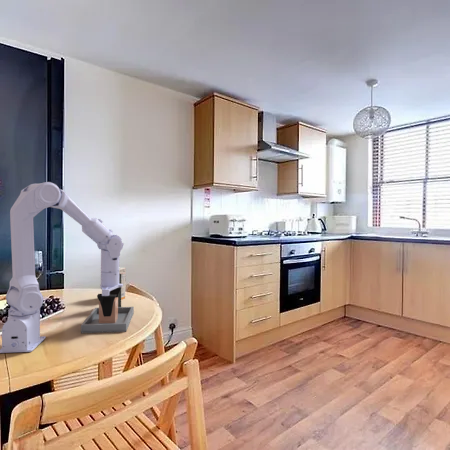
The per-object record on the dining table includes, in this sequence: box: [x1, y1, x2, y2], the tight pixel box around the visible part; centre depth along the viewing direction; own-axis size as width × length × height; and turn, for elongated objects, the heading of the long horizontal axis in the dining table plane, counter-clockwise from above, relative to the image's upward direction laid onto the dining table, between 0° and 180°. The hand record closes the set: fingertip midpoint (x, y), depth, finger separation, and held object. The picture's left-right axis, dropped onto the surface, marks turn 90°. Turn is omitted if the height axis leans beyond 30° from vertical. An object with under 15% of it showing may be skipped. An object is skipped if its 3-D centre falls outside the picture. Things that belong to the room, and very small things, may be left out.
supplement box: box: [119, 266, 127, 301], centre depth 135 cm, size 8×5×13 cm, turn 73°
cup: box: [98, 297, 118, 323], centre depth 106 cm, size 5×5×7 cm
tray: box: [80, 306, 135, 334], centre depth 106 cm, size 18×13×2 cm
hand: (109, 312), depth 106 cm, fingers open, 7 cm apart
